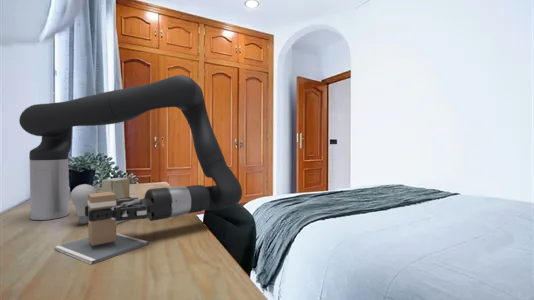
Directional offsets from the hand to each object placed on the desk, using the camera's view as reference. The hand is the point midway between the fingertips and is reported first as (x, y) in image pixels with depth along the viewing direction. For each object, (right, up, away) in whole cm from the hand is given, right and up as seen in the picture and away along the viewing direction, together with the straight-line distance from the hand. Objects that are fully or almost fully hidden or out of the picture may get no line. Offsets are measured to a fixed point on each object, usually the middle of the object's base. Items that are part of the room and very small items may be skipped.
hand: (87, 213), depth 59 cm
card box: (+2, -6, +2) cm, 7 cm away
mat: (+2, -8, +2) cm, 8 cm away
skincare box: (-5, -7, +21) cm, 23 cm away
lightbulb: (-13, -7, +19) cm, 24 cm away
